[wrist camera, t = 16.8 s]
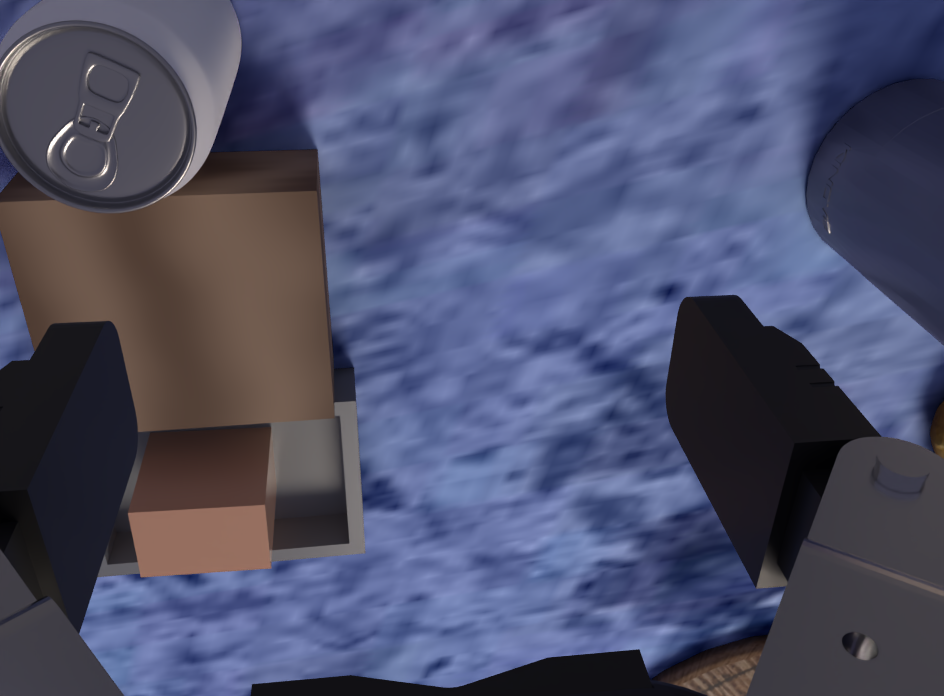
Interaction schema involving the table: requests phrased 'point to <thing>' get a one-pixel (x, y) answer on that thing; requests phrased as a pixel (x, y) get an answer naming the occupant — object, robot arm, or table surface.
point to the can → (115, 96)
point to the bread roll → (938, 431)
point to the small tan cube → (205, 502)
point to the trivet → (718, 668)
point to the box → (288, 487)
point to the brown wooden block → (193, 288)
